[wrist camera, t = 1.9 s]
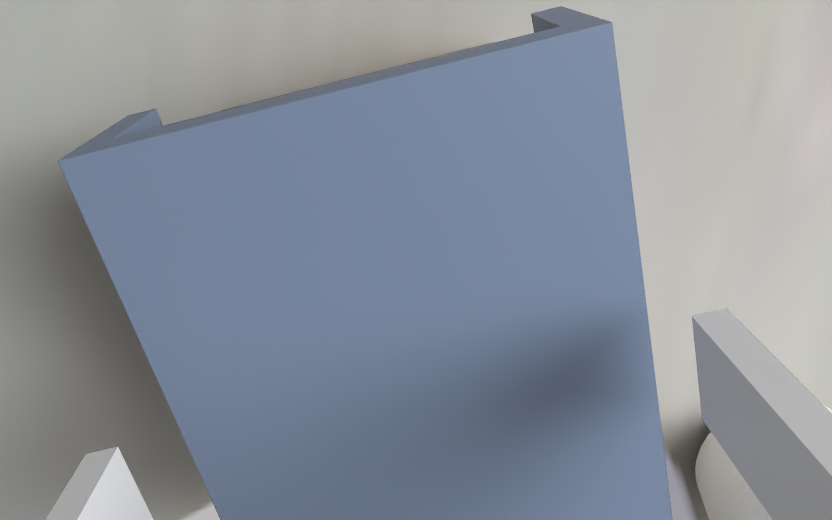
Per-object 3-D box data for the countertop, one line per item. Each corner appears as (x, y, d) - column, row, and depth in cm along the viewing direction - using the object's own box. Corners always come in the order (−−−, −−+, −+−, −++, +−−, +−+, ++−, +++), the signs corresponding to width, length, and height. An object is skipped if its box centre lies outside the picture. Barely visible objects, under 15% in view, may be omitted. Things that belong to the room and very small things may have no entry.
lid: (128, 115, 20) (57, 160, 15) (560, 6, 19) (612, 22, 15) (284, 503, 25) (264, 615, 21) (623, 429, 24) (673, 529, 20)
